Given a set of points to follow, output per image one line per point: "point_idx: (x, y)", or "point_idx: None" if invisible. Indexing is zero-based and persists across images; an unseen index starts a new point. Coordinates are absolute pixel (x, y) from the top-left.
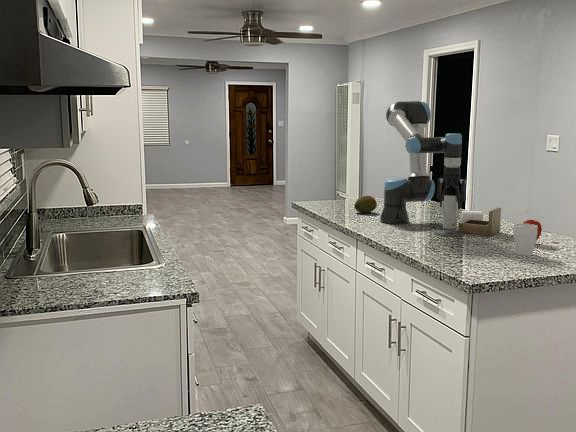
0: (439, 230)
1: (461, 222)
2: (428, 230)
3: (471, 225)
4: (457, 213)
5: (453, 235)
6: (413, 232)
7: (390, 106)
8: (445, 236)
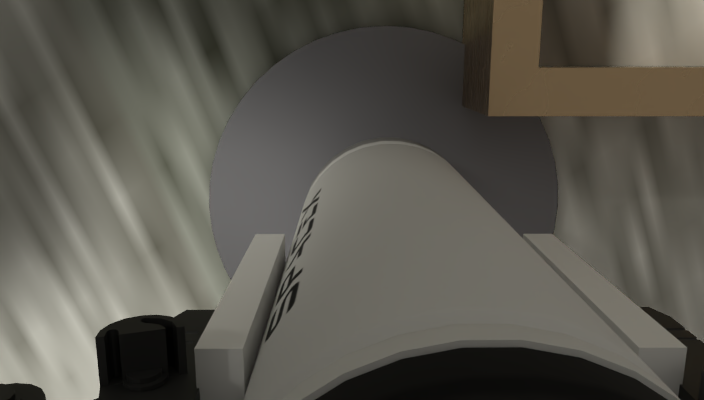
0: (227, 132)
1: (507, 42)
2: (93, 140)
3: (672, 114)
4: None
5: None
6: (19, 346)
7: None
8: None
